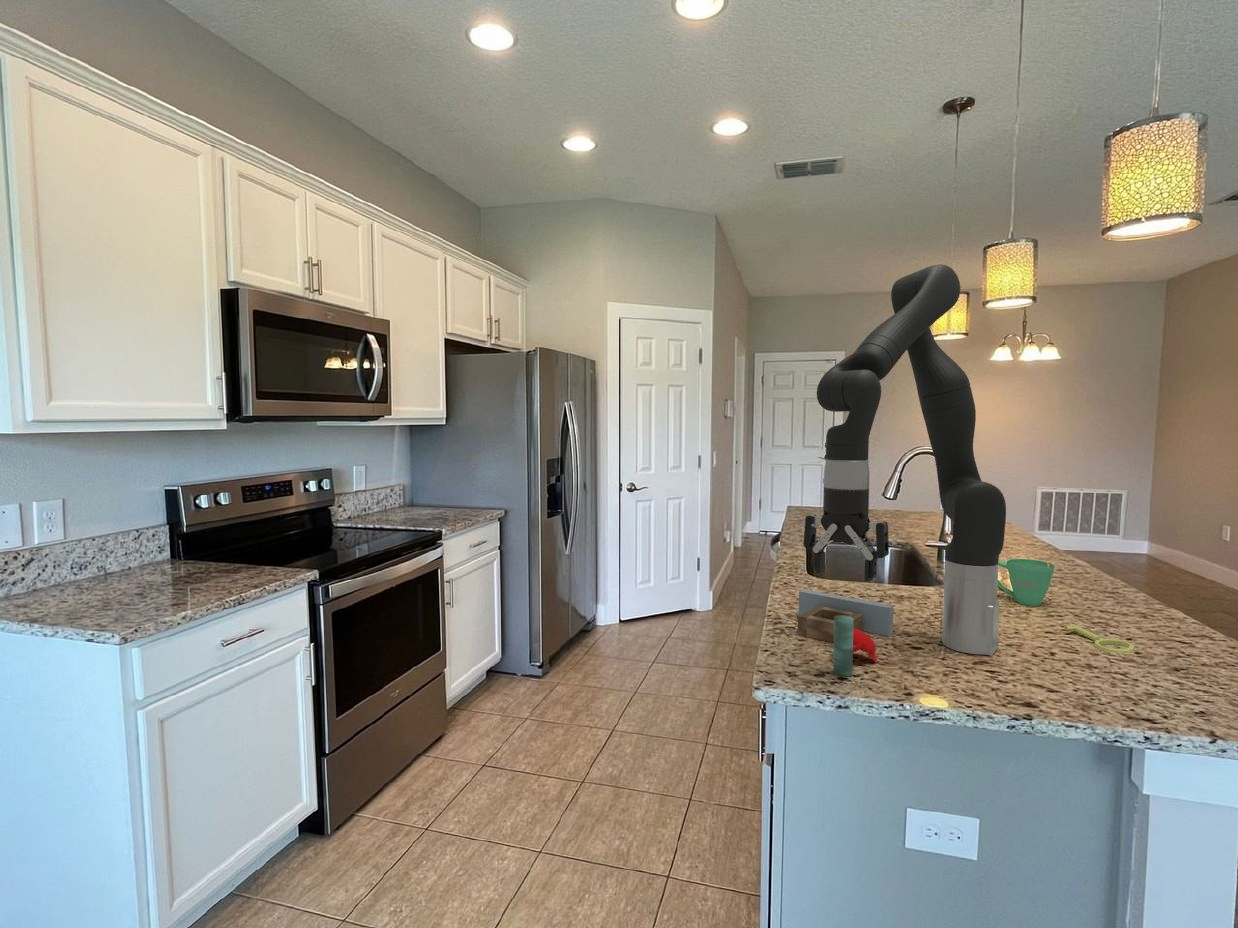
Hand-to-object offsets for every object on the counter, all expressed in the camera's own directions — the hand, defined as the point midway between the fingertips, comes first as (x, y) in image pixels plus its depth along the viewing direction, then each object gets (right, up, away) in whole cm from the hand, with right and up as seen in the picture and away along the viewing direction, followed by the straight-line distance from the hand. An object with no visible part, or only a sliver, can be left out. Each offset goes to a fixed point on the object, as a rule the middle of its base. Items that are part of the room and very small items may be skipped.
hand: (844, 576), depth 110 cm
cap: (+5, -17, +7) cm, 19 cm away
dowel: (0, -17, +1) cm, 17 cm away
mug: (+60, -15, +46) cm, 77 cm away
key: (+57, -17, +16) cm, 62 cm away
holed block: (+5, -16, +22) cm, 28 cm away
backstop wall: (+10, -16, +27) cm, 33 cm away
